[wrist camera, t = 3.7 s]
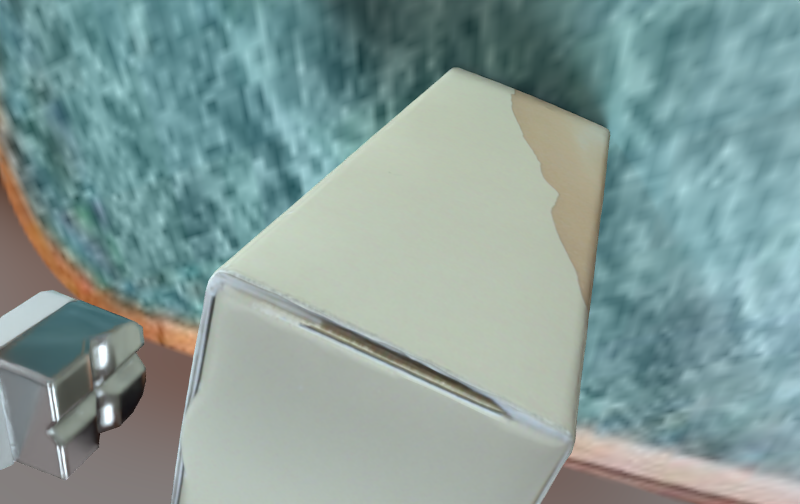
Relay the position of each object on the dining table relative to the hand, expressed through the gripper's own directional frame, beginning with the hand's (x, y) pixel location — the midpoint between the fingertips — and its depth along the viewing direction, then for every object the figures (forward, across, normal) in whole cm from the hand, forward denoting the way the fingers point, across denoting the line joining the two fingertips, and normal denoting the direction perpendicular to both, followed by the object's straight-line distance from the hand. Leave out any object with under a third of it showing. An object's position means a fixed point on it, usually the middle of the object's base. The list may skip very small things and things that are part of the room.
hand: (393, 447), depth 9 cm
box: (+10, +1, 0) cm, 10 cm away
